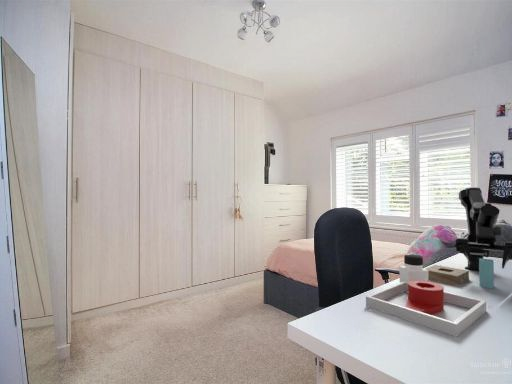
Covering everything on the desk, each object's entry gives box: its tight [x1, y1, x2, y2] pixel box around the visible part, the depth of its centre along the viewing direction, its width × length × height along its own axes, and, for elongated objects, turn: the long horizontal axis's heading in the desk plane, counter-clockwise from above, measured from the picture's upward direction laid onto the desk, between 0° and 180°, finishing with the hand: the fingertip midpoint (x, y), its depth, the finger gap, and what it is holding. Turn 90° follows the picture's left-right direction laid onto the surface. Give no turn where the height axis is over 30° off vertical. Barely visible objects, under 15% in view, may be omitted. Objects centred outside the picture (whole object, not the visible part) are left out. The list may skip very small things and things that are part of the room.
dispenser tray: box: [365, 282, 487, 338], centre depth 86 cm, size 24×24×3 cm
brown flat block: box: [425, 264, 470, 287], centre depth 114 cm, size 12×12×4 cm
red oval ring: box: [405, 281, 445, 316], centre depth 85 cm, size 18×9×7 cm, turn 133°
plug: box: [478, 258, 495, 289], centre depth 106 cm, size 4×4×10 cm
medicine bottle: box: [399, 253, 430, 283], centre depth 106 cm, size 7×7×12 cm
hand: (486, 265), depth 105 cm, fingers open, 9 cm apart
